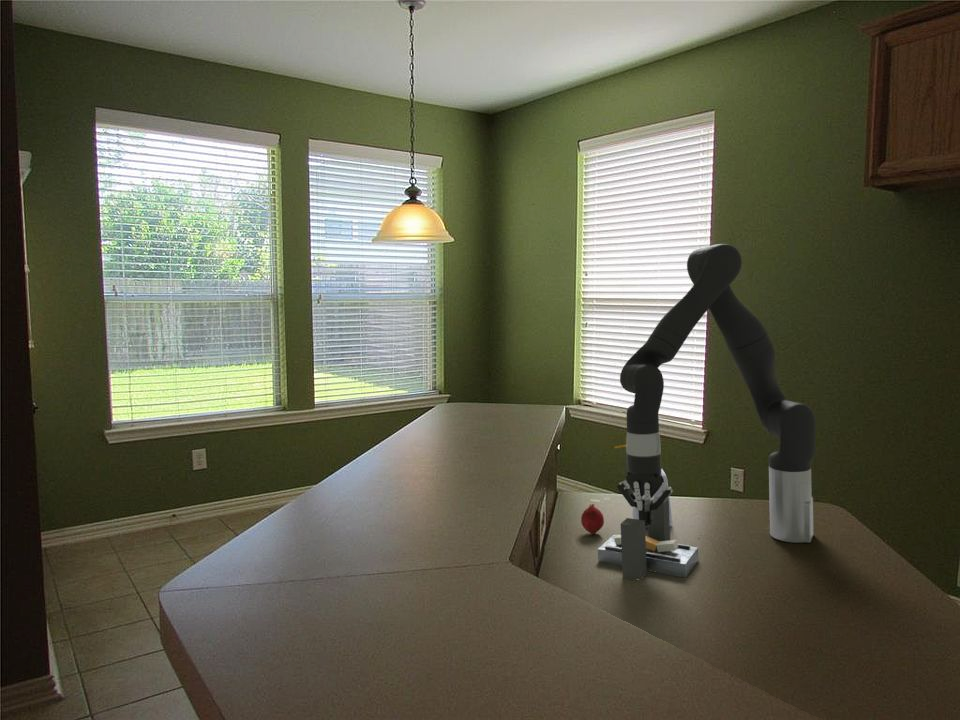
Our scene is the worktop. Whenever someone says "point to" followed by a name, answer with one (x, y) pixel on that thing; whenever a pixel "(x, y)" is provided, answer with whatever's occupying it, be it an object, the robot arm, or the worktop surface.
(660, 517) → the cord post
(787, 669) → the worktop surface
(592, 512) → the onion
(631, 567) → the cord post
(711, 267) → the robot arm
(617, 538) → the paddle
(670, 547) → the paddle
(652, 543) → the orange block
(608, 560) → the breaker panel
